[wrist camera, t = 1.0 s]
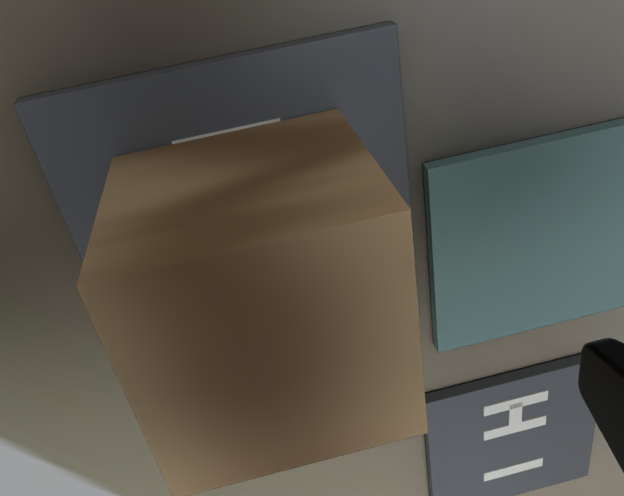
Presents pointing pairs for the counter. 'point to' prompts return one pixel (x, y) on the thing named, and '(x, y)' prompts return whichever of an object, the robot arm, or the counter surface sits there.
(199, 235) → the oak block
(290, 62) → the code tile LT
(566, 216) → the rubber mat
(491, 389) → the code tile
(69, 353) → the counter surface
